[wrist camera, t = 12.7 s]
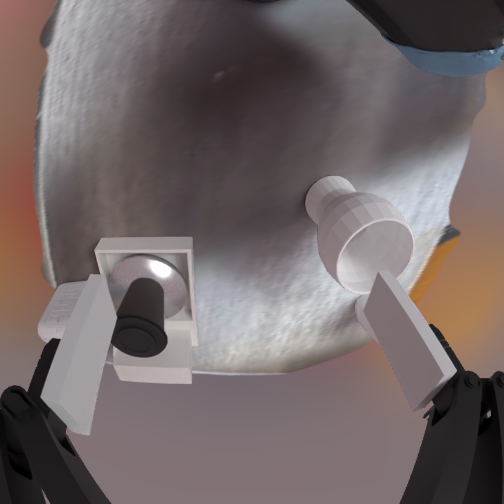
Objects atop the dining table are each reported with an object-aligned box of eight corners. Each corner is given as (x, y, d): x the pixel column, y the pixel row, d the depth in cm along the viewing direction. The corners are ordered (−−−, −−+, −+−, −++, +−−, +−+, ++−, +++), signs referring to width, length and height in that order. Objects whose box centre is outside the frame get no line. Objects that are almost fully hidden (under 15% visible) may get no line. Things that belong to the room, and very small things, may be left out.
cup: (315, 245, 45) (351, 313, 32) (281, 191, 40) (313, 251, 27) (372, 209, 43) (426, 265, 30) (345, 151, 37) (405, 193, 25)
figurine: (389, 303, 55) (415, 347, 45) (356, 319, 56) (378, 366, 46) (385, 280, 51) (414, 325, 41) (349, 297, 52) (373, 346, 42)
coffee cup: (119, 305, 42) (105, 356, 34) (121, 264, 38) (102, 314, 30) (169, 315, 44) (164, 367, 36) (177, 275, 40) (170, 328, 32)
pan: (107, 246, 40) (100, 258, 37) (185, 245, 41) (183, 258, 39) (121, 306, 46) (117, 319, 44) (190, 307, 48) (189, 321, 45)
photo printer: (66, 300, 46) (43, 351, 35) (56, 282, 43) (29, 332, 33) (112, 296, 46) (94, 352, 36) (103, 276, 44) (80, 332, 33)
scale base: (101, 237, 40) (74, 285, 30) (192, 236, 42) (186, 287, 32) (126, 333, 51) (115, 382, 41) (198, 334, 53) (198, 386, 43)
